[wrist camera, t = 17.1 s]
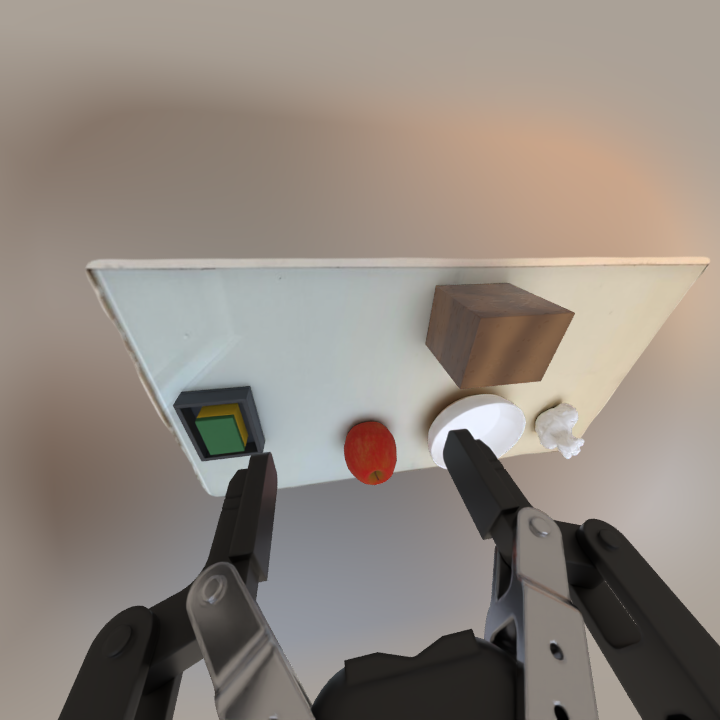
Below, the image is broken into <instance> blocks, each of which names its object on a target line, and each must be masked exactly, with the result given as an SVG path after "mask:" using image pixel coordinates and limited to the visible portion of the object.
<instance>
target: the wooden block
mask: <svg viewBox="0 0 720 720" xmlns="http://www.w3.org/2000/svg"><path fill="white" fill-rule="evenodd" d="M574 315H575V313H574V312H572V311H570V310H567V309H565V308H563V307H561V306H558V305H556V304H554V303H552V302H550V301H547V300H545V299H543V298H541V297H538V296H536V295H534V294H532V293H530V292H527V291H525V290H523V289H521V288H518V287H516V286H514V285H512V284H510V283H499V284H470V285H441V286H436V289H435V294H434V300H433V306H432V311H431V317H430V322H429V328H428V333H427V339H426V346H427V347H428V348H429V350H430V351H431V352H432V353H433V355H434V356H435V357H436V359H437V360H438V361H439V363H440V364H441V365H442V366H443V368H444V369H445V370H446V372H447V373H448V374H449V375H450V377H451V378H452V379H453V381H454V382H455V383H456V385H457V386H458V387H459V388H460V389H466V388H476V387H486V386H496V385H507V384H517V383H527V382H537V381H541V380H542V378H543V376H544V374H545V372H546V370H547V368H548V366H549V364H550V362H551V360H552V358H553V356H554V354H555V352H556V350H557V348H558V346H559V344H560V342H561V340H562V338H563V336H564V334H565V332H566V330H567V328H568V326H569V324H570V322H571V320H572V318H573V316H574Z"/></svg>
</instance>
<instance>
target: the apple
mask: <svg viewBox="0 0 720 720" xmlns="http://www.w3.org/2000/svg"><path fill="white" fill-rule="evenodd" d="M344 455H345V461H346V464H347V467H348V469H349V470H350V472H351V473H352V474H353V475H354V476H355V477H356V478H357V479H358V480H360V481H361V482H363V483H365V484H370V485H376V484H380V483H383V482H385V481H387V480H388V479H389V478H390V477H391V476H392V474H393V471H394V468H395V465H396V461H397V456H396V444H395V440H394V437H393V435H392V434H391V433H390V431H389V430H388V429H387V428H386V427H385V426H384V425H383V424H381V423H378V422H370V421H368V422H364V423H360V424H358V425H356V426H354V427H353V428H352V429H351V430H350V431H349V432H348V435H347V437H346V440H345V445H344Z"/></svg>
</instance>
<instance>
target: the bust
mask: <svg viewBox="0 0 720 720" xmlns="http://www.w3.org/2000/svg"><path fill="white" fill-rule="evenodd" d="M577 421H578V412H577V411H576V408H574V407H573V406H572V405H570V404H567V403H560V404H559V405H558V406H556V407H555V408H551V409H549V410H547V411H545V412H543V413H541V414H540V415H539V416H538V418H537V420H536V422H535V425H536V427H535V431H536V432H537V434H538V437H539V440H540V444H542V445H543V446H544V447H545V448H547V449H554V448H556V447H557V449H558V451H559V452H561V453H562V455H563V457H565V458H567V459H570V458H571V456H572V455H575V456H576V455H577V454H578V453H579V452H580V451H581V450H580V447H579V446H582V445H583V443H584V442H585V441H584V440H583V439H582V438H576V437H574V436H573V435H572V428H573V426H574V425H575V424H576V422H577Z"/></svg>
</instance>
